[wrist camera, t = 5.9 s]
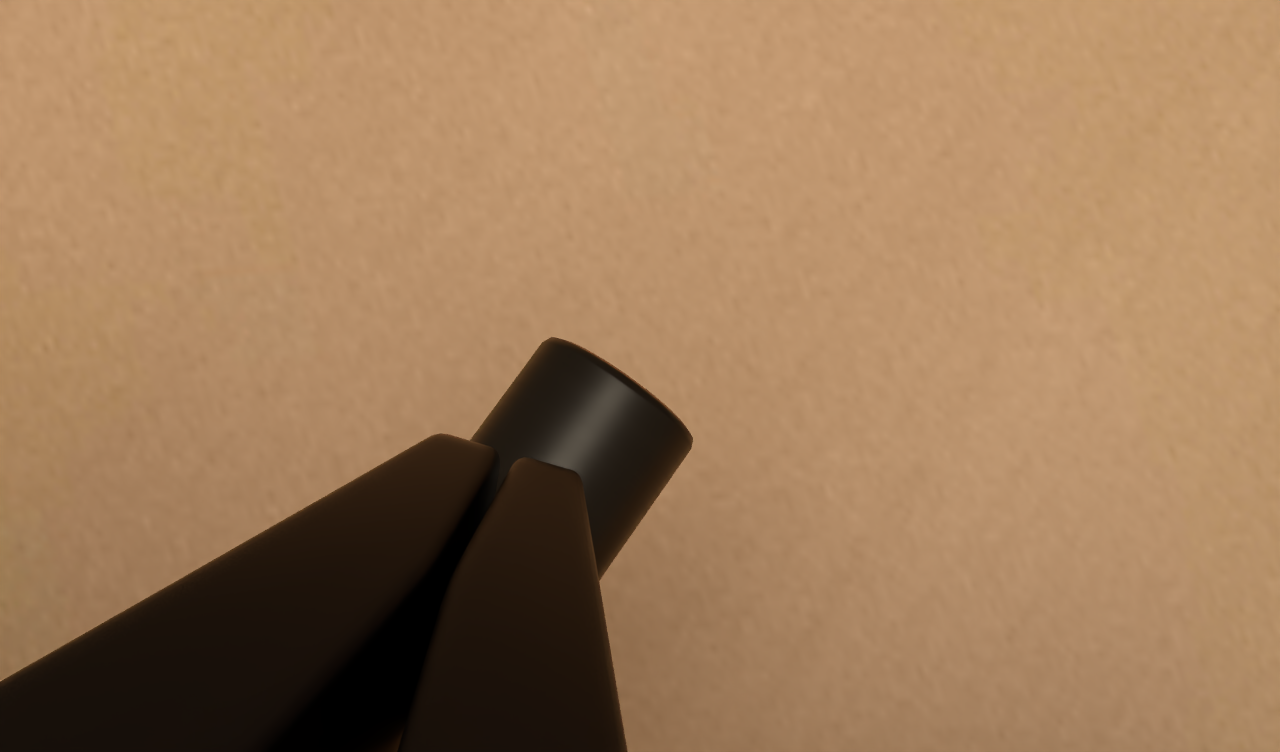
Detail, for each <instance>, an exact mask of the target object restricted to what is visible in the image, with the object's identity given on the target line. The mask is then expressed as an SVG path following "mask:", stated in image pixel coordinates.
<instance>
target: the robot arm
mask: <svg viewBox="0 0 1280 752" xmlns="http://www.w3.org/2000/svg"><path fill="white" fill-rule="evenodd" d="M499 469H500V458H499V455H498V452H497V451H496V450H495V449H494V448H492V447H490V446H487V445H483V444H480V443H476V442H473V441H469V440H466V439H462V438H459V437H455V436H452V435H448V434H436V435H433V436H430V437H428V438H427V439H425V440H423V441H421V442H420V443H418V444H416V445H414V446H412V447H411V448H409V449H407V450H405V451H404V452H402V453H400V454H398V455H397V456H395V457H393V458H391V459H390V460H388V461H386V462H384V463H383V464H381V465H379V466H377V467H376V468H374V469H372V470H370V471H369V472H367V473H365V474H363V475H362V476H360V477H358V478H356V479H355V480H353V481H351V482H349V483H348V484H346V485H344V486H342V487H341V488H339V489H337V490H335V491H334V492H332V493H330V494H328V495H327V496H325V497H323V498H321V499H320V500H318V501H316V502H314V503H313V504H311V505H309V506H307V507H306V508H304V509H302V510H300V511H299V512H297V513H295V514H293V515H292V516H290V517H288V518H286V519H285V520H283V521H281V522H279V523H277V524H276V525H274V526H272V527H270V528H269V529H267V530H265V531H263V532H262V533H260V534H258V535H256V536H255V537H253V538H251V539H249V540H248V541H246V542H244V543H242V544H241V545H239V546H237V547H235V548H234V549H232V550H230V551H228V552H227V553H225V554H223V555H221V556H220V557H218V558H216V559H214V560H213V561H211V562H209V563H207V564H206V565H204V566H202V567H200V568H199V569H197V570H195V571H193V572H192V573H190V574H188V575H186V576H185V577H183V578H181V579H179V580H178V581H176V582H174V583H172V584H171V585H169V586H167V587H165V588H164V589H162V590H160V591H158V592H157V593H155V594H153V595H151V596H150V597H148V598H146V599H144V600H142V601H141V602H139V603H137V604H135V605H134V606H132V607H130V608H128V609H127V610H125V611H123V612H121V613H120V614H118V615H116V616H114V617H113V618H111V619H109V620H107V621H106V622H104V623H102V624H100V625H99V626H97V627H95V628H93V629H92V630H90V631H88V632H86V633H85V634H83V635H81V636H79V637H78V638H76V639H74V640H72V641H71V642H69V643H67V644H65V645H64V646H62V647H60V648H58V649H57V650H55V651H53V652H51V653H50V654H48V655H46V656H44V657H43V658H41V659H39V660H37V661H36V662H34V663H32V664H30V665H29V666H27V667H25V668H23V669H22V670H20V671H18V672H16V673H15V674H13V675H11V676H9V677H7V678H6V679H4V680H2V681H0V752H627V746H626V740H625V734H624V728H623V722H622V716H621V710H620V704H619V698H618V692H617V686H616V680H615V674H614V668H613V662H612V656H611V650H610V644H609V638H608V632H607V626H606V620H605V614H604V608H603V602H602V596H601V590H600V584H599V578H598V572H597V566H596V560H595V554H594V548H593V542H592V536H591V530H590V524H589V518H588V512H587V506H586V500H585V494H584V488H583V483H582V480H581V478H580V475H579V474H578V473H577V472H575V471H573V470H571V469H567V468H564V467H560V466H557V465H553V464H549V463H546V462H542V461H539V460H535V459H532V458H527V457H524V458H521V459H518V460H517V461H516V462H515V463H514V464H513V465H512V467H511V468H510V470H509V472H508V474H507V475H506V477H505V479H504V481H503V483H502V484H501V486H500V488H499V490H498V492H497V493H496V495H495V492H496V487H497V481H498V476H499Z"/></svg>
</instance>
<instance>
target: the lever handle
mask: <svg viewBox="0 0 1280 752" xmlns="http://www.w3.org/2000/svg"><path fill="white" fill-rule="evenodd" d="M470 441H473V442H476V443H480V444H483V445H487V446H490V447H492V448H494V449H495V450H496V451H497V452H498V455H499V458H500V469H499V476H498V481H497V487H496V492H495V495H496V493H497V492H498V490H499V488H500V486H501V484H502V483H503V481H504V479H505V477H506V475H507V474H508V472H509V470H510V468H511V467H512V465H513V464H514V463H515V462H516V461H517V460H518V459H521V458H524V457H527V458H532V459H535V460H539V461H542V462H546V463H549V464H553V465H557V466H560V467H564V468H567V469H571V470H573V471H575V472H577V473H578V474H579V475H580V478H581V480H582V483H583V488H584V494H585V500H586V506H587V512H588V518H589V524H590V530H591V536H592V542H593V548H594V554H595V560H596V566H597V572H598V578H599V580H600V579H601V577H602V576H603V574H604V573H605V572H606V570H607V569H608V567H609V566H610V564H611V563H612V562H613V560H614V559H615V557H616V556H617V554H618V553H619V551H620V550H621V549H622V547H623V546H624V544H625V543H626V541H627V540H628V539H629V537H630V536H631V534H632V533H633V531H634V530H635V529H636V527H637V526H638V524H639V523H640V521H641V520H642V519H643V517H644V516H645V514H646V513H647V511H648V510H649V509H650V507H651V506H652V504H653V503H654V501H655V500H656V498H657V497H658V496H659V494H660V493H661V491H662V490H663V488H664V487H665V486H666V484H667V483H668V481H669V480H670V478H671V477H672V476H673V474H674V473H675V471H676V470H677V468H678V467H679V466H680V464H681V463H682V461H683V460H684V458H685V457H686V455H687V454H688V453H689V451H690V450H691V447H692V443H693V437H692V435H691V434H690V432H689V431H688V429H687V428H686V426H685V425H684V424H683V422H682V421H681V420H680V419H679V418H678V417H677V416H676V415H675V414H674V413H673V412H672V411H671V410H670V409H669V408H668V407H667V406H666V405H665V404H663V403H662V402H661V401H660V400H659V399H658V398H656V397H655V396H654V395H653V394H651V393H650V392H649V391H648V390H646V389H645V388H644V387H643V386H641V385H640V384H639V383H637V382H636V381H635V380H633V379H632V378H630V377H629V376H628V375H626V374H625V373H623V372H622V371H620V370H619V369H617V368H616V367H614V366H613V365H611V364H610V363H608V362H607V361H605V360H604V359H602V358H600V357H599V356H597V355H595V354H594V353H592V352H590V351H588V350H586V349H584V348H582V347H580V346H578V345H576V344H574V343H572V342H569V341H566V340H562V339H559V338H554V337H551V338H549V339H547V340H546V341H544V342H542V344H541V345H540V346H539V348H538V349H537V350H536V352H535V353H534V354H533V356H532V357H531V359H530V360H529V361H528V363H527V364H526V365H525V367H524V368H523V369H522V371H521V372H520V373H519V375H518V376H517V377H516V379H515V380H514V382H513V383H512V384H511V386H510V387H509V388H508V390H507V391H506V392H505V394H504V395H503V396H502V398H501V399H500V401H499V402H498V403H497V405H496V406H495V407H494V409H493V410H492V411H491V413H490V414H489V415H488V417H487V418H486V420H485V421H484V422H483V424H482V425H481V426H480V428H479V429H478V430H477V432H476V433H475V434H474V436H473V437H472V439H471V440H470Z"/></svg>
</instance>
